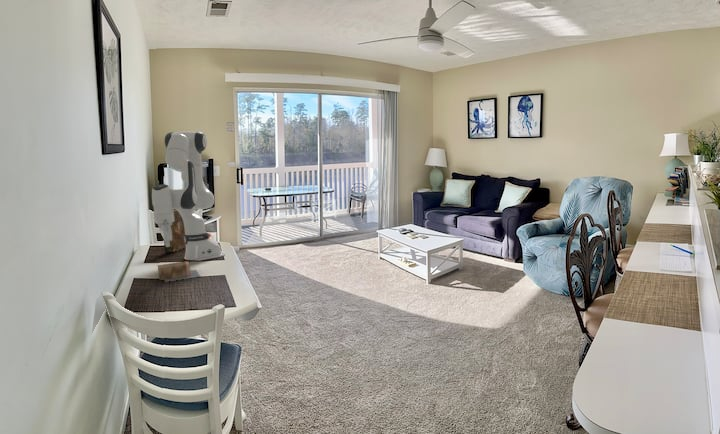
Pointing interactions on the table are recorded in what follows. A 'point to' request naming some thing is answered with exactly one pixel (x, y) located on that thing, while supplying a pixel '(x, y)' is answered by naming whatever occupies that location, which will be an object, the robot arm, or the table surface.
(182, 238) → the book
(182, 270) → the walnut block
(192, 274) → the mat
